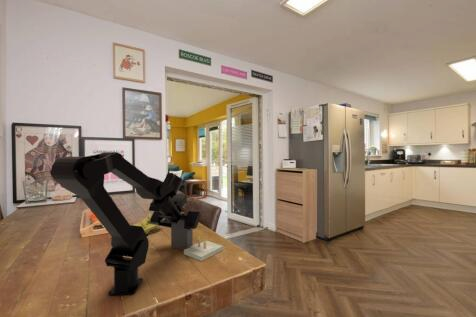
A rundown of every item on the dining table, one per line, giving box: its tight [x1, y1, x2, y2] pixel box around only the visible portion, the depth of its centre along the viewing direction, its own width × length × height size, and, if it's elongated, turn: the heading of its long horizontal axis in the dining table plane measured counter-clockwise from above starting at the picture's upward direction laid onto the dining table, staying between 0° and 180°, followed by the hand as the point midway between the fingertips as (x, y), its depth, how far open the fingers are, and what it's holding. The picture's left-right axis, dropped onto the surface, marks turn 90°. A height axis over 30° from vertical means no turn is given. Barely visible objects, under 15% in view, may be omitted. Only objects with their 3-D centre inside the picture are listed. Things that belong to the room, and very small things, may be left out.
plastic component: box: [133, 212, 158, 235], centre depth 99 cm, size 20×7×10 cm
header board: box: [183, 238, 224, 262], centre depth 79 cm, size 11×9×4 cm
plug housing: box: [170, 220, 194, 250], centre depth 84 cm, size 4×7×12 cm, turn 73°
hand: (183, 228), depth 85 cm, fingers closed on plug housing, 7 cm apart
